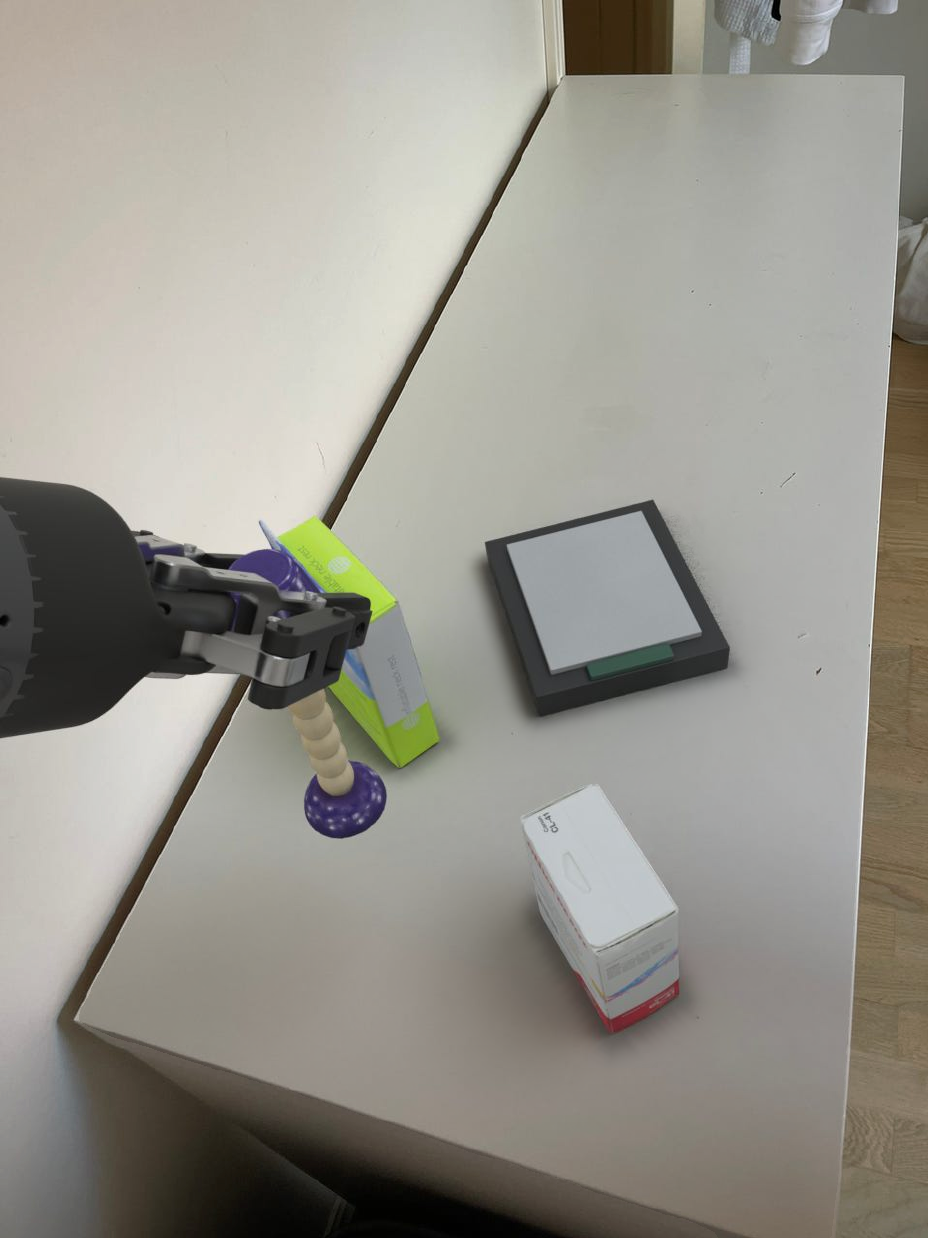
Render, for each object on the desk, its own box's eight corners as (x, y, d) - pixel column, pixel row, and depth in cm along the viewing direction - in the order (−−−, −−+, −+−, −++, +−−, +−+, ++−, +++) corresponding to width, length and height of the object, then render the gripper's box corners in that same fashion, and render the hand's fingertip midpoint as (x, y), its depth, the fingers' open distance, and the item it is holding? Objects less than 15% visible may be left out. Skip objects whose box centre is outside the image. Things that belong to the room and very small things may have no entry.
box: (443, 741, 70) (398, 576, 57) (395, 774, 69) (338, 613, 56) (364, 654, 76) (307, 487, 63) (319, 684, 75) (251, 519, 62)
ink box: (682, 999, 57) (690, 912, 48) (604, 1041, 56) (598, 960, 47) (605, 874, 62) (599, 774, 53) (533, 910, 61) (515, 816, 52)
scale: (728, 668, 71) (730, 642, 69) (538, 717, 70) (535, 692, 68) (653, 520, 81) (653, 493, 79) (487, 562, 81) (483, 536, 79)
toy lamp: (314, 759, 53) (211, 534, 40) (400, 756, 52) (324, 527, 39) (299, 841, 49) (183, 625, 37) (391, 839, 49) (305, 619, 36)
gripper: (145, 552, 23) (478, 565, 38) (-196, 412, 29) (206, 470, 44) (80, 845, 24) (426, 746, 40) (-233, 651, 31) (170, 629, 46)
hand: (308, 600), depth 42 cm, fingers closed on toy lamp, 4 cm apart
